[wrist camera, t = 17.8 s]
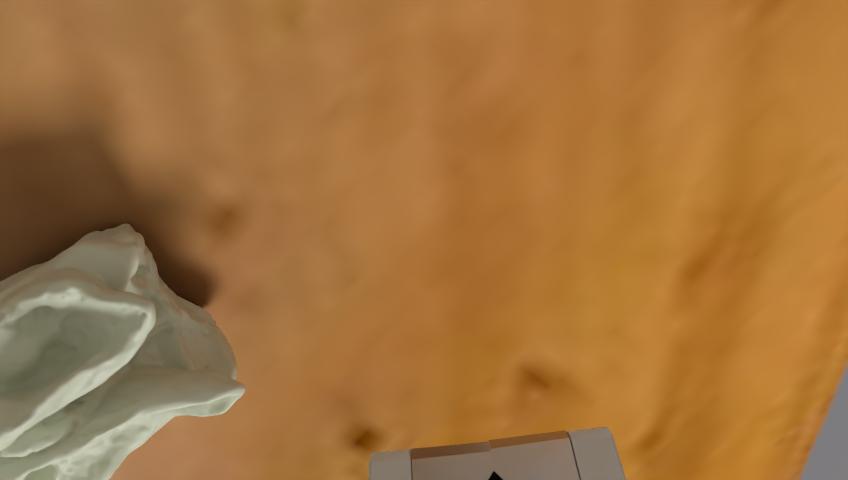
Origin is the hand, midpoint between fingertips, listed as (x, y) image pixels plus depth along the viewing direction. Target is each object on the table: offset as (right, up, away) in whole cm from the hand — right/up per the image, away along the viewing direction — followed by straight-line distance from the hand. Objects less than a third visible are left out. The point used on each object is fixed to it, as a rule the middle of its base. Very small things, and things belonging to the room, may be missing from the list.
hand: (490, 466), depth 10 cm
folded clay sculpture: (-20, 0, +36) cm, 41 cm away
